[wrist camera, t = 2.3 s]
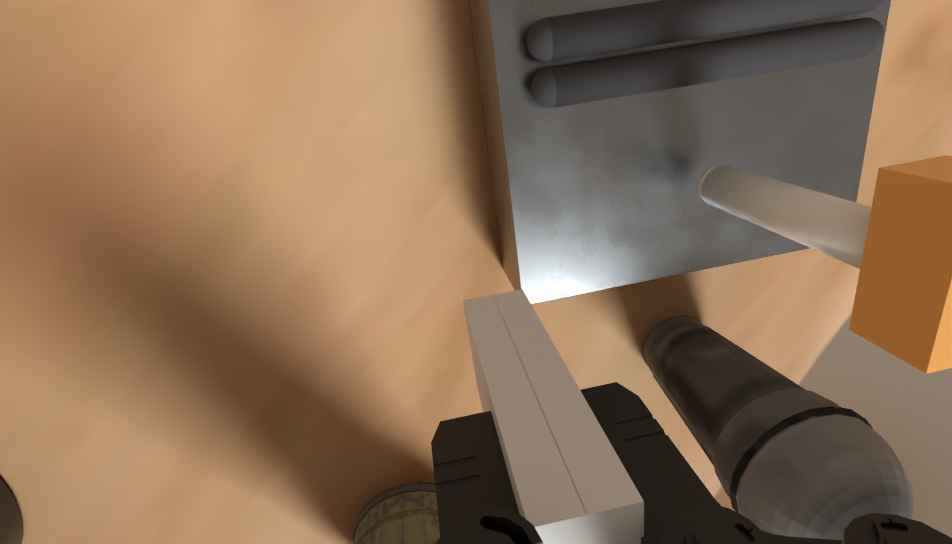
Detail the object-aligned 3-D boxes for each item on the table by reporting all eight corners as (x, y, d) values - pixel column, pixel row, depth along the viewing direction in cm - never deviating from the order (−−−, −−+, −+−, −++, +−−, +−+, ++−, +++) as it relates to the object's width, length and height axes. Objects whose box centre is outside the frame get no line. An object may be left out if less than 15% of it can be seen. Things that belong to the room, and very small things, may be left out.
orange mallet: (686, 236, 24) (925, 373, 13) (689, 129, 22) (976, 187, 11) (725, 229, 24) (993, 358, 13) (732, 122, 22) (1054, 172, 11)
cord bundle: (528, 109, 21) (538, 112, 20) (520, 22, 20) (530, 18, 18) (858, 55, 23) (890, 54, 21) (871, -30, 21) (906, -37, 20)
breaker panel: (503, 268, 29) (523, 305, 25) (441, -209, 21) (455, -288, 16) (782, 215, 31) (849, 240, 26) (834, -250, 22) (947, -332, 18)
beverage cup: (660, 281, 31) (1030, 575, 13) (744, 317, 34) (1164, 613, 15) (604, 373, 34) (856, 738, 15) (686, 402, 36) (996, 752, 17)
